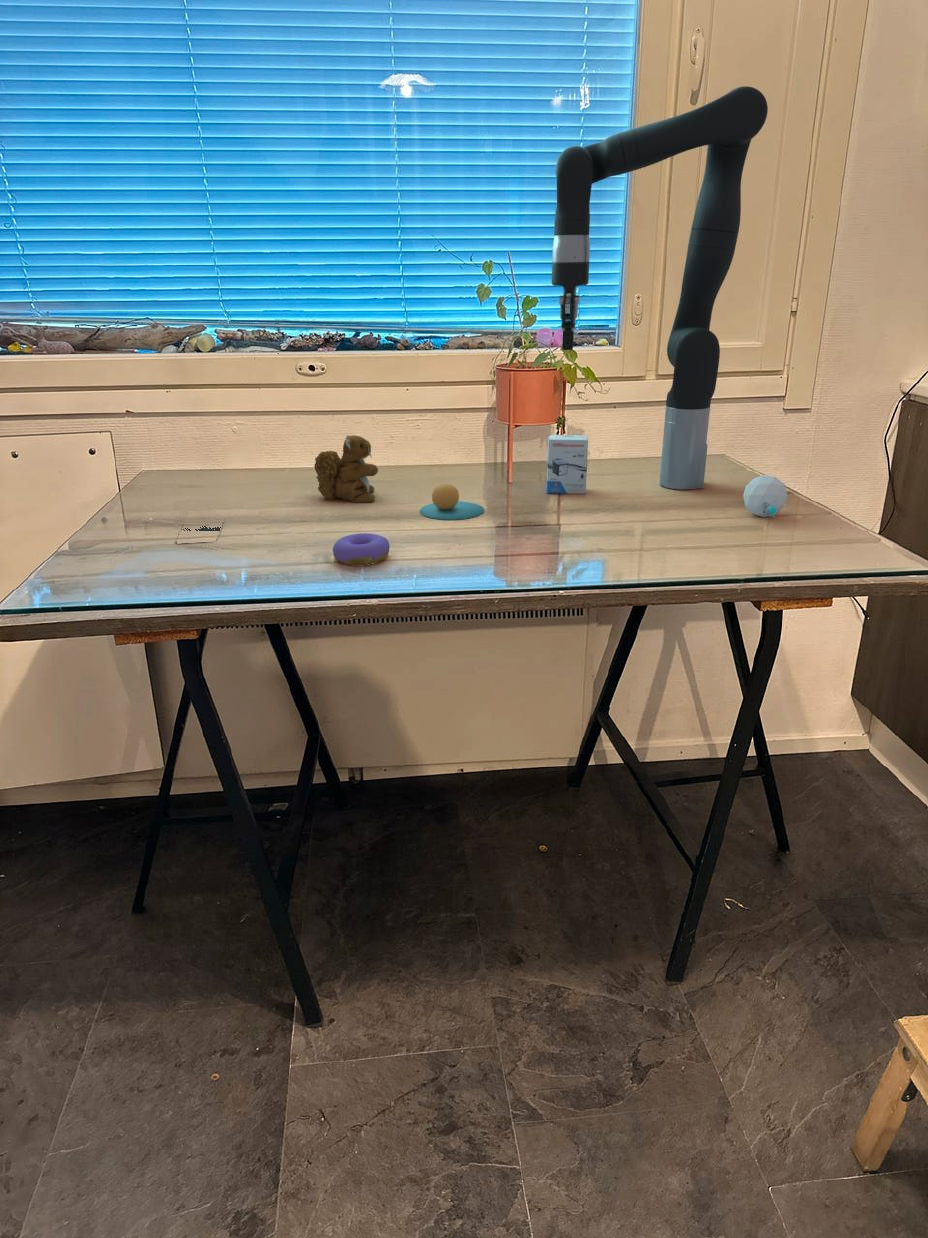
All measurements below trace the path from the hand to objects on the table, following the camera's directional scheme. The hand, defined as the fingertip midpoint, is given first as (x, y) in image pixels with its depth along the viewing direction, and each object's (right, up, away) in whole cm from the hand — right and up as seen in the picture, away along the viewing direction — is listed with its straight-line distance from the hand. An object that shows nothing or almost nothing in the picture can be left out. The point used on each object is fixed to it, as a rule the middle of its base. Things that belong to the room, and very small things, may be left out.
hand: (567, 349), depth 172 cm
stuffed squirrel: (-47, -31, +4) cm, 57 cm away
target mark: (-24, -35, -7) cm, 43 cm away
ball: (-26, -32, -7) cm, 42 cm away
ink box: (0, -29, +6) cm, 30 cm away
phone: (-72, -41, -17) cm, 85 cm away
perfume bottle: (+36, -38, -15) cm, 54 cm away
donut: (-39, -47, -33) cm, 70 cm away
